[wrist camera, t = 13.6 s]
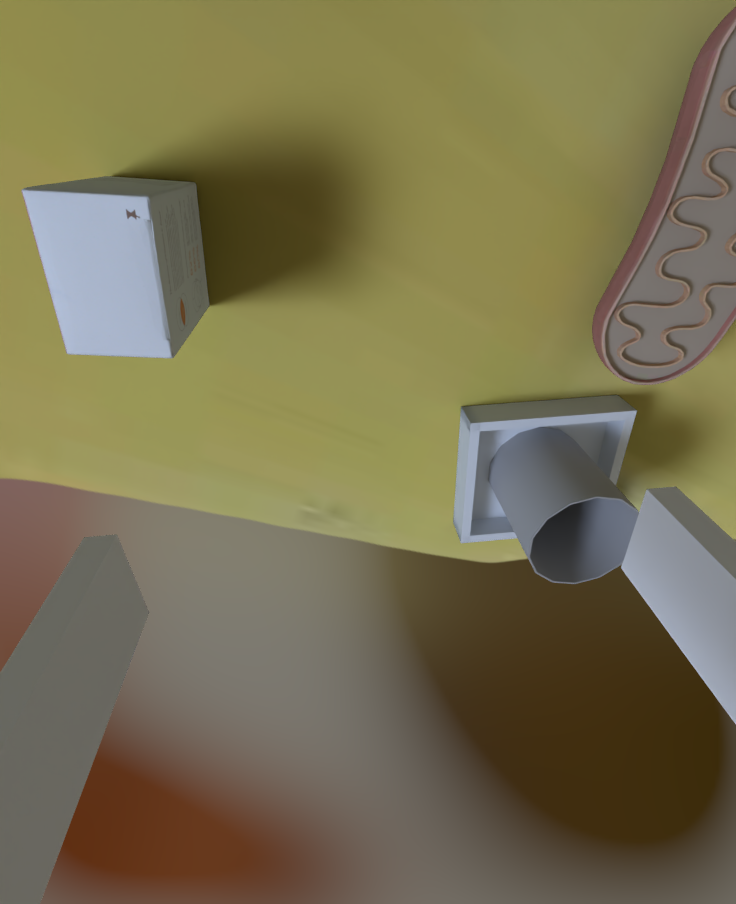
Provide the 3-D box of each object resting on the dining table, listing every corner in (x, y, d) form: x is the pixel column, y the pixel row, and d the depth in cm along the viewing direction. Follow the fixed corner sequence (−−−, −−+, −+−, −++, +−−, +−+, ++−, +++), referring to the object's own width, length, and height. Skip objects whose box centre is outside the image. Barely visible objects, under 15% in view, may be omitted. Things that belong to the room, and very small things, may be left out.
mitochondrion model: (695, -28, 28) (764, -62, 23) (839, 13, 29) (928, -12, 25) (553, 353, 39) (581, 377, 35) (661, 368, 41) (701, 393, 36)
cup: (597, 456, 44) (665, 529, 35) (532, 517, 47) (579, 597, 38) (534, 410, 40) (591, 477, 32) (469, 478, 44) (505, 556, 35)
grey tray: (461, 406, 41) (470, 423, 38) (617, 394, 41) (637, 410, 39) (453, 522, 47) (460, 543, 45) (588, 510, 48) (603, 530, 45)
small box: (106, 174, 30) (15, 182, 21) (198, 181, 31) (148, 191, 22) (130, 304, 34) (62, 357, 25) (211, 308, 35) (173, 361, 26)
